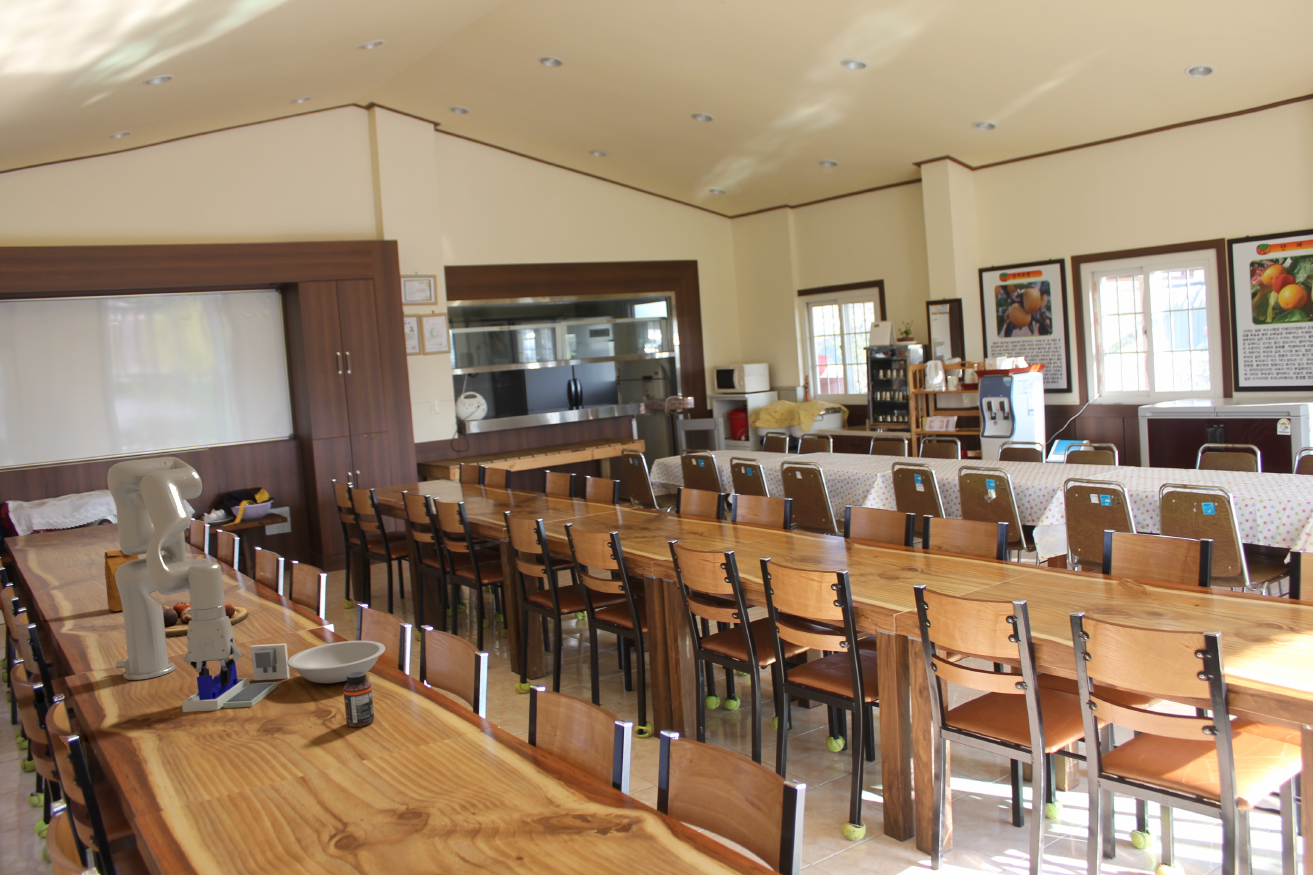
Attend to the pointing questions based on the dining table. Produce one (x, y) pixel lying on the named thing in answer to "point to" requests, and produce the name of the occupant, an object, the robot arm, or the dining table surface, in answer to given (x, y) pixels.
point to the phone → (250, 695)
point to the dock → (214, 704)
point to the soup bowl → (336, 660)
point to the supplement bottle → (358, 700)
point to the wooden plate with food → (179, 620)
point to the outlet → (270, 661)
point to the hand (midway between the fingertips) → (215, 684)
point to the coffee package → (111, 565)
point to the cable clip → (215, 685)
